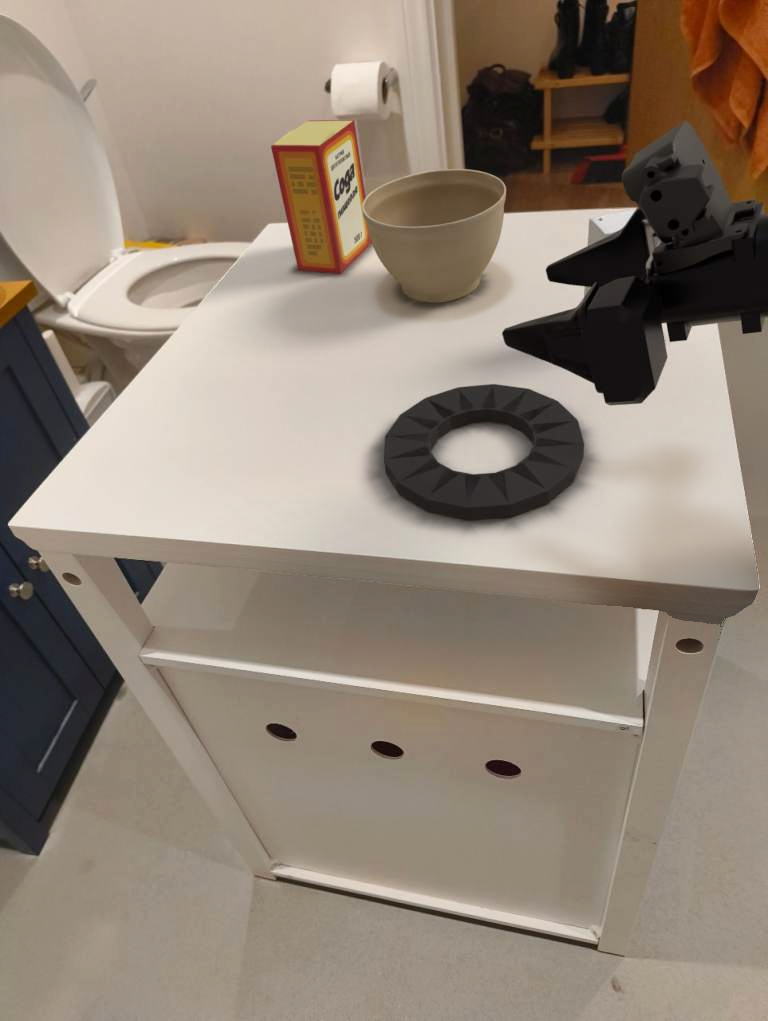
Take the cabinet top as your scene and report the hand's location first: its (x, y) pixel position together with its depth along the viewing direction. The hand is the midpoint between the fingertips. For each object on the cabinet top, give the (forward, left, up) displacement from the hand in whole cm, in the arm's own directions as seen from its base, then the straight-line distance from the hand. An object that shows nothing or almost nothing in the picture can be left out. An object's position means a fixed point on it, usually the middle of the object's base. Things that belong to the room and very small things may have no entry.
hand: (527, 303), depth 51 cm
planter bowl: (+6, -37, -16) cm, 41 cm away
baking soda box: (+20, -49, -16) cm, 56 cm away
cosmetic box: (-12, -22, -16) cm, 30 cm away
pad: (+3, -4, -16) cm, 17 cm away
